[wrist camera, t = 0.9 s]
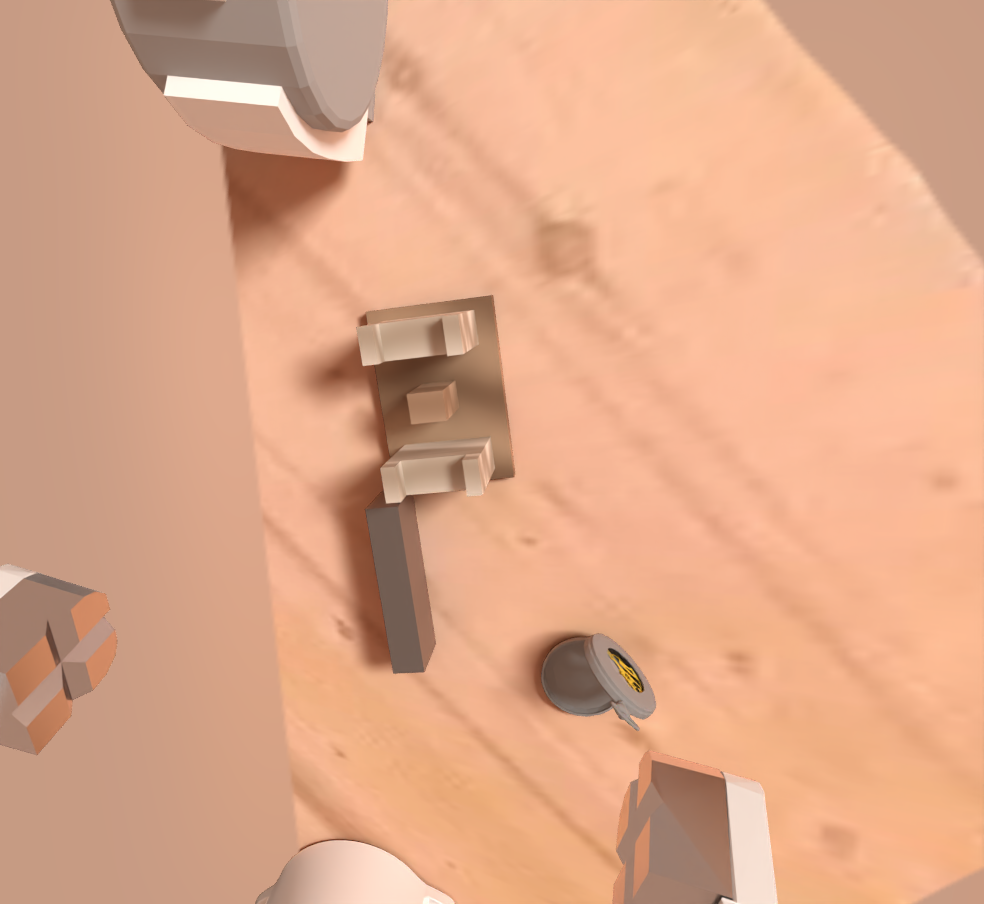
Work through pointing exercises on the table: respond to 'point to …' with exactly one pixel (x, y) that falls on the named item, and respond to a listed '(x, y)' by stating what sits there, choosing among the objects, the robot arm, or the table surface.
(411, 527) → the long grey beam
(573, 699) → the pocket watch
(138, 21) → the alarm clock
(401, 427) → the display stand
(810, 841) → the table surface
